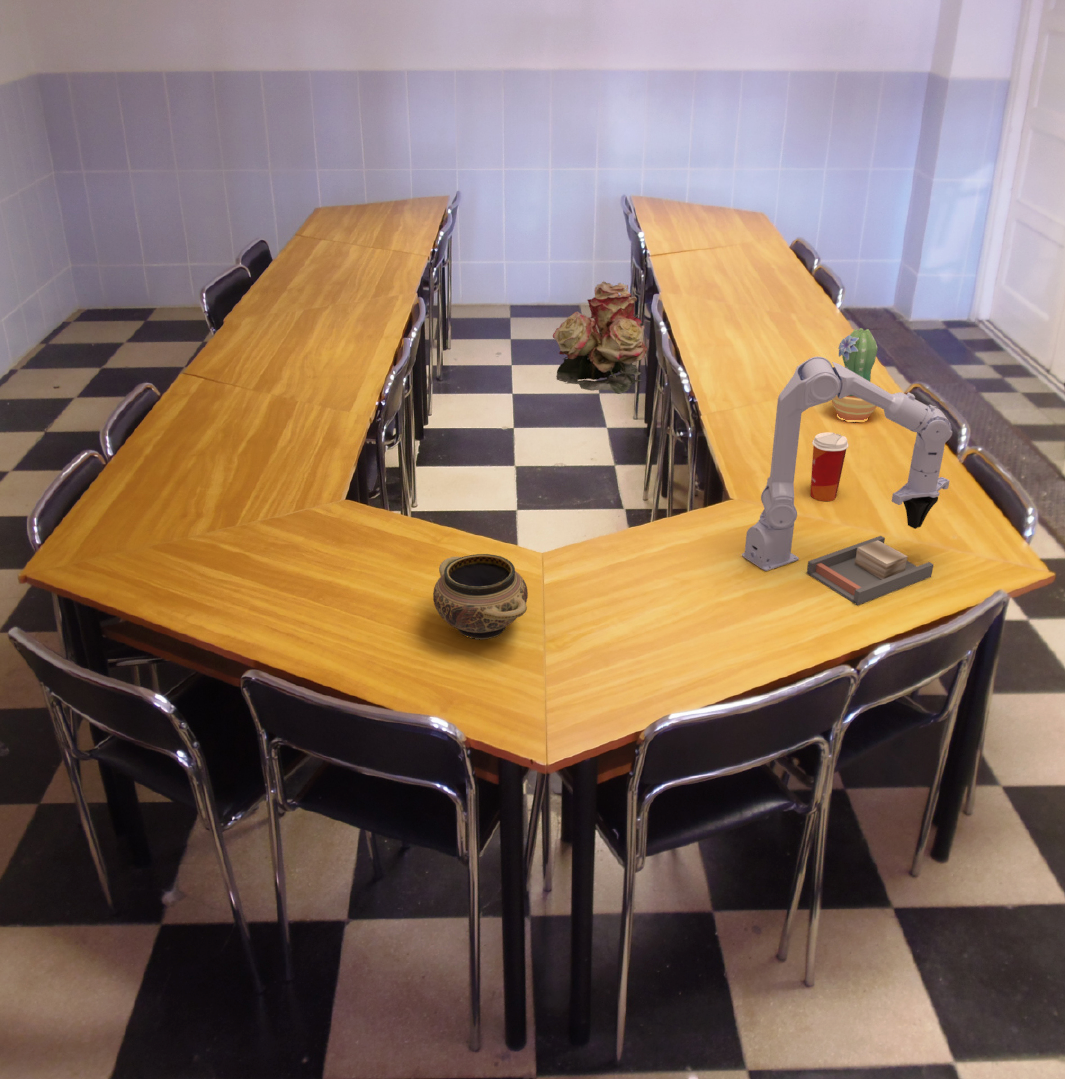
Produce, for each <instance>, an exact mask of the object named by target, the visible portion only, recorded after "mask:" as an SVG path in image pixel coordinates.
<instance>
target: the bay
mask: <svg viewBox="0 0 1065 1079" xmlns="http://www.w3.org/2000/svg"><path fill="white" fill-rule="evenodd" d="M885 539H886V538H885V537H884V536H883V535H879V536H876V537H873V538H869V539H868V540H864V541H861V542H858V543H856V544H853V545H851V546H848V547H844V548H841V549H839V550H836V551H833V552H829V553H828V554H824V555H822V556H819V557H816V558H813V559H811V560H808V562H807V568H806V574H807V575H809V576H810V577H812V578H814V579H815V580H816V581H818V582H820V583H821V584H823V585H824V586H826V588H827V587H828V588H829V589H830V590H832V591H833V592H836V593H837V594H839V595H840V596H842V597H843V598H845V599H846V600H848V601H850V602H852V603H853V604H854V605H856V606H859V605H863V604H865V603H867V602H870V601H872V600H874V599H877V598H880V597H883V596H886V595H889V594H890V593H893V592H896V591H898V590H901V589H904V588H906V587H909V586H911V585H914V584H916V583H919V582H922V581H925V580H927V579H929V578H931V577H932V574H933V569H934V563H932V562H930V561H928V562H925V563H922V564H920V565H915V564H914V563H912V562H910V561H909V560H907V562H906V567H905V568H906V569H905V571H904V572H901V573H898V574H896V575H893V576H890V577H888V578H885V579H883V580H881V579H880V578H878V577H876V576H875V575H873V574H871V573H869V572H868V571H866V570H864V569H863V568H861V567H859V566H858V565H856V564H855V559H856V554H857V553H856V552H857V548H858V547H860V546H863V545H866V544H869V543H872V542H875V541H877V540H879V541H881V542H882V543H884V544H885Z"/></svg>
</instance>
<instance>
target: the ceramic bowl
mask: <svg viewBox="0 0 1065 1079" xmlns="http://www.w3.org/2000/svg"><path fill="white" fill-rule="evenodd" d="M438 568H439V570H438V571H439V572H438V573H439V576H440V577H439V578H438V579H437V581H436V583H435V584H434V588H433V591H432V598H433V599H432V600H433V604H434V607H435V609H436V611H437V613H438V614H439V616H440V617H441V618H442V619H443V621H444V622H446V623H447V624H449V625H450V626H452V627H454V628H456V629H457V630H458V632H459V633H460V634H461V635H462V634H463V635H465V636H468V637H471V638H470V639H472V638H475V639H474V640H479V639H480V640H488V638H490V639H493V638H492V637H494V638H496V637H498V636H500V635H501V634H502V633H503V632H504V631H506V627H507V626H509V625H511V624H512V623H513V622H514V621H516V619H518V618H520V617H522V616H524V614H525V613H526V612H527V610H528V606H527V601H528V598H529V594H528V593H529V592H528V587H527V583H526V582H525V580H524V578H523V577H522V576H521V574H520V573H518V572H517V571H516V569H515V565H514V564H513V562H512V561H511V560H509V559H507V558H505V557H503V556H501V555H496V554H489V553H477V554H471V555H465V556H462V557H461V556H451V557H447V558H446V559H444V560H443V561H442V562H441V563H440V565H439V567H438ZM463 635H462V636H463ZM465 636H464V637H465ZM468 637H467V638H468Z"/></svg>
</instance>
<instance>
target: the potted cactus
mask: <svg viewBox="0 0 1065 1079" xmlns="http://www.w3.org/2000/svg"><path fill="white" fill-rule="evenodd" d="M878 348H879V347H878V345H877V341H876V339H875V338H874V335H873V334H872V332H871V331H870V329H869V328H867V329H864V328H862V327H860V328H859V329H857V328H856V329H854V330H853V331H852V332H851V333H850V334H848V335H847V336H846V337H844V338H842V339H841V341H840V342H839V344H838V357H839V358H840V357H841V356H842V357H841V358H842V361H843V364H844V367H845V368H847V369H849V370H851V371H852V372H854V373H856V374H857V375H859V376H861V377H863V378H864V379H866V380H868V381H869V382H871V379H872V378H871V376H872V369H873V367H874V364H875V362H876V358H877V355H878V354H877V353H878V350H879V349H878ZM875 385H876V386H878V387H880V388H882V387H881V386H880V385H877V384H875ZM831 403H832V406H833V408H834V410H835V411H836V415H837V414H838V416H839V417H840V418H843V419H845V420H864V419H867V418H868V416H869V417H870V416H871V414H873V413H874V411H875V410H876V408H877V406H875V405H873V404H871V403H869V402H867V401H864V400H862V399H860V398H858V397H856V396H854V395H848V396H846V397H844V398H841V399H839V398H838V396H836V397H835V398H833V399H832V400H831Z"/></svg>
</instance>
